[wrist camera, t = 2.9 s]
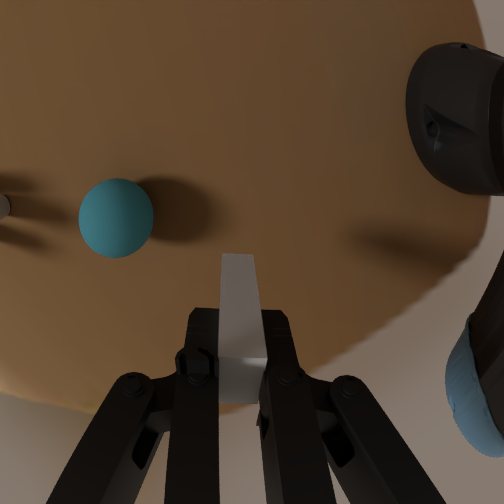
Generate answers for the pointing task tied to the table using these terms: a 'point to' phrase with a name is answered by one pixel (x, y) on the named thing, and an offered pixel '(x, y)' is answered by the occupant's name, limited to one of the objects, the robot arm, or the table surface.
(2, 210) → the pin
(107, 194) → the ball
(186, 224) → the table surface
